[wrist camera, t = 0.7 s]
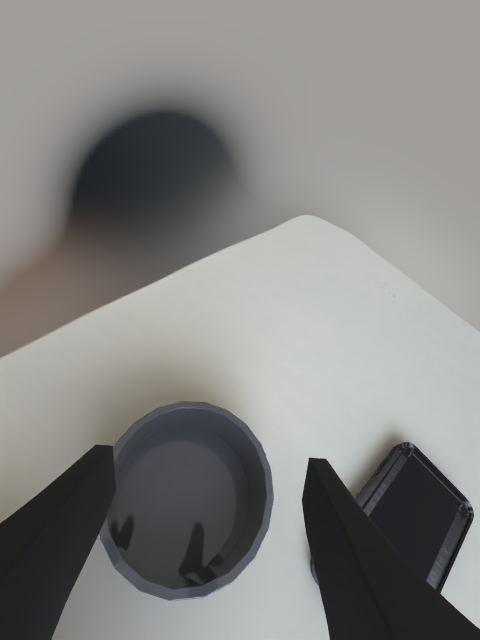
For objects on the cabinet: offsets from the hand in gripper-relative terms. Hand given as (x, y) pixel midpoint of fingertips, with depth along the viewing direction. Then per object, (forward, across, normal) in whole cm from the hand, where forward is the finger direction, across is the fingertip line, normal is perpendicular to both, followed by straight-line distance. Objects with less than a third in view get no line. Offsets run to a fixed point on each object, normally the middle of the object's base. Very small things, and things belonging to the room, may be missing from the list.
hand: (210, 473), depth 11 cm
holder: (+9, +3, +12) cm, 15 cm away
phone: (+10, -15, +15) cm, 23 cm away
